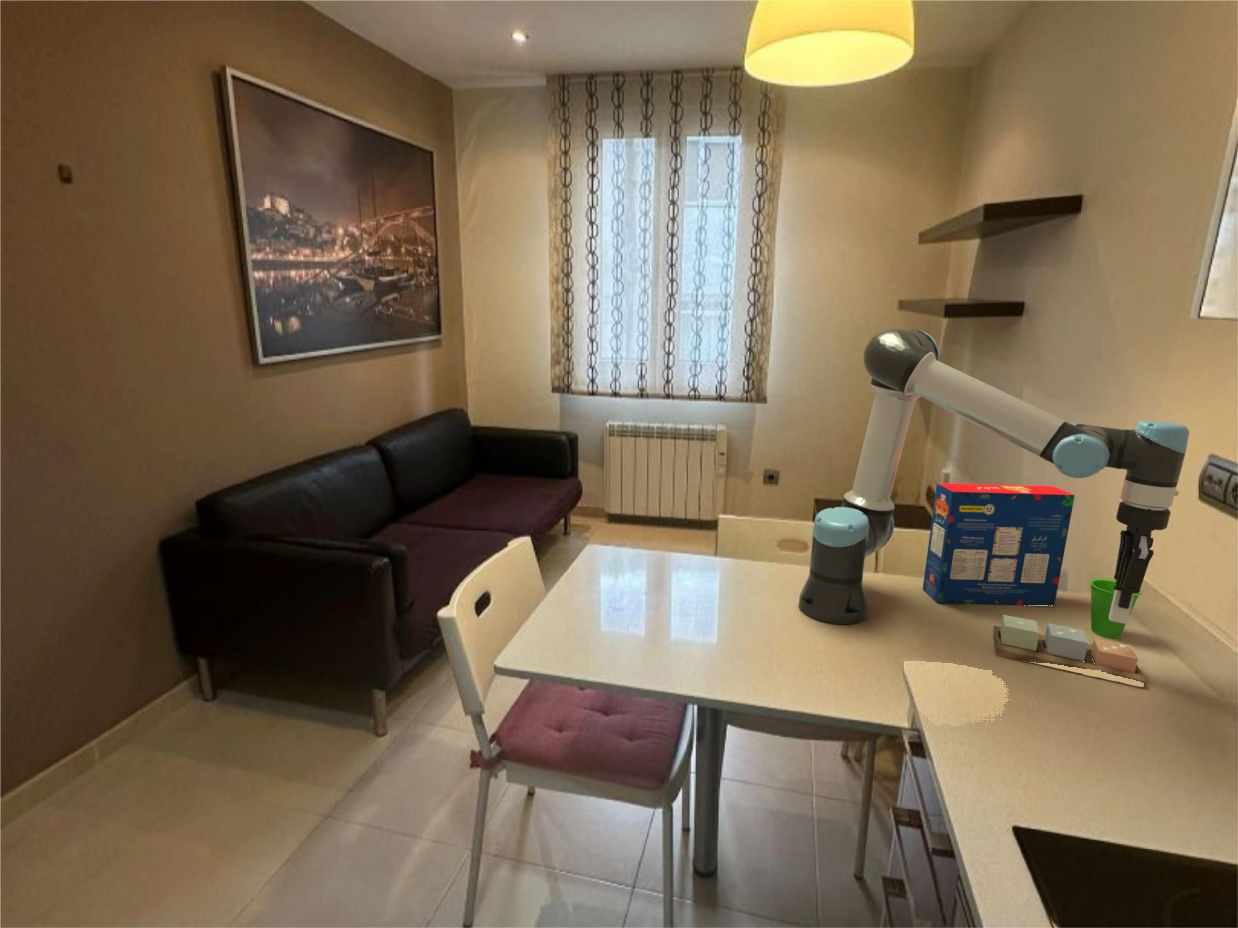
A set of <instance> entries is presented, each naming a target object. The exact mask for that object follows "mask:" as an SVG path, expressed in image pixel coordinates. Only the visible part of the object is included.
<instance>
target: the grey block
mask: <svg viewBox="0 0 1238 928" xmlns="http://www.w3.org/2000/svg"><path fill="white" fill-rule="evenodd" d="M1045 630H1046V631H1045V634H1044V635H1045V645H1046V647H1045V649H1046V651H1047V652H1046V653H1047V654H1048V655H1053V656H1058V657H1062V658H1067V659H1072V660H1076V661H1081V662H1083V661H1084V659H1085V654H1086V649H1087V644H1089V642H1088V640H1087V637H1086V634H1085V632H1084V630H1082V629H1078V628H1074V627H1068V626H1063V625H1058V624H1053V623H1048V622H1047V626H1046V629H1045Z"/></svg>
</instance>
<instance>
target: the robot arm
mask: <svg viewBox="0 0 1238 928" xmlns="http://www.w3.org/2000/svg"><path fill="white" fill-rule="evenodd" d="M940 357H941V354H940V348H939V345H938V343H937V341H936V340H935V339H934V338H933V336H931V335H930V334H929V333H927V332H925V331H923V330H921V329H920V330H919V329H916V328H889V329H884V330H882V331H880V332H878V333H876V334H875V335H874V336H873V337H872V338H871V339H870V340H869V341H868V342H867V344H866V346H865V348H864V351H863V365H864V368H865V370H866V371H867V373H868V375H869V376H870V377H871V382H870V387H871V388H872V389H873V391H874V393H875V394H874V399H873V403H872V407H871V411H870V415H869V419H868V424H867V426H866V427H867V428H866V431H865V436H864V439H863V443H862V444H863V445H862V448H861V452H860V457H859V461H858V464H857V469H856V473H855V477H854V481H853V486H852V489H851V490H849V491H847V492H846V493H844V495H843V498H842V504H841V506H836V507H834V508H832V507H828V508H825V509H822V510H820V511H819V512H818V513H816V516H815V518H814V523H813V526H812V541H811V551H810V564H809V565H810V566H809V574H808V577H807V579H806V581H805V584H804V585H803V587H802V589H801V592H800V593H799V597H798V608H799V609H800V610H801V612H802V613H803V614H805V615H807V616H808V617H811V618H813V619H816V621H821V622H825V623H830V624H835V625H836V624H837V625H852V624H858V623H862V622H863V621H864V620H866V619H867V615H868V603H867V597H866V593H865V589H864V585H863V577H864V568H865V561H866V558H868V557H869V556H871V555H872V554H874V553H875V552H877V551H879V550H880V549H882V548H883V547H885V546H886V545H887V543H888V542H889V541H890V540H891V538H892V536H893V534H894V532H895V531H894V530H895V520H894V516H893V514H894V510H895V504H894V502H893V501H892V499H891V494H892V491H893V487H894V483H895V480H896V476H897V473H898V468H899V465H900V462H901V458H902V453H903V449H904V445H905V441H906V438H907V434H908V429H909V427H910V422H911V418H912V414H913V410H914V406H915V404H916V401H917V400H918V399H919V398H921V397H922V398H923V399H924V400H927V401H928V402H929V401H930V402H932V403H934V404H935V405H936V406H939V407H940V408H943V409H945V410H947V411H949V412H950V413H953V414H955V415H957V416H959V417H961V418H963V419H964V420H967V421H969V422H971V423H972V424H975V425H976V426H978V427H980V428H982V429H984V430H986V431H988V432H991V433H992V434H994V435H996V436H998V437H1000V438H1002V439H1004V440H1006V441H1009V442H1010V443H1012V444H1014V445H1016V446H1019V447H1020V448H1022V449H1024V450H1026V451H1027V452H1030V453H1031V454H1033V455H1036V456H1038V457H1039V458H1041V459H1043V460H1045V461H1047V462H1049V463H1051V464H1053V465H1054V466H1055V468H1056V469H1057V470H1058V471H1059V472H1060V473H1061V474H1062V475H1065V476H1067V477H1070V478H1074V479H1084V478H1089V477H1092V476H1094V475H1096V474H1098V473H1099V472H1100V471H1103V470H1104V469H1105V468H1112V469H1115V470H1117V469H1118V470H1125V471H1126V474H1125V477H1124V479H1123V485H1122V489H1121V493H1120V499H1121V500H1122V501H1121V502H1119V504H1118V508H1117V512H1116V516H1115V517H1116V518H1115V520H1116V521H1117V522H1119V523H1120V524H1123V525H1125V526H1126V529H1125V530H1124V529H1122V530H1121V531H1120V532H1119V533H1120V542H1119V548H1118V554H1117V560H1116V566H1115V572H1114V576H1113V580H1115V581H1116V582H1115V584H1116V586H1114V590H1115V592H1114V596H1113V601H1112V605H1111V609H1110V613H1109V620H1110V621H1114V622H1119V623H1124V624H1126V625H1127V624H1128V623H1129V618H1130V616H1131V613H1130V611H1131V606H1132V602H1133V598H1134V594H1135V593H1136V594H1138V593H1139V592H1140V591H1141V588H1142V585H1143V581H1144V579H1145V575H1146V573H1147V570H1148V567H1149V565H1150V561H1151V559H1152V558H1153V556H1154V555H1155V553H1154V550H1153V549H1151V548H1152V547H1153V543H1154V538H1153V537H1152V532H1154V531H1164V530H1166V529H1167V528H1168V526H1169V525H1168V524H1169V521H1170V517H1171V510H1170V509H1169V508H1171V507H1172V505H1173V503H1174V497H1177V496H1179V494H1180V492H1179V490H1177V486H1178V483H1179V479H1180V475H1181V471H1182V468H1183V464H1184V461H1185V456H1186V452H1187V446H1188V442H1189V437H1190V430H1189V428H1188V427H1187V426H1186V425H1184V424H1181V423H1176V422H1169V421H1160V420H1147V419H1145V420H1140V421H1138V422H1137V425H1136V427H1135V428H1134V429H1121V428H1114V427H1105V426H1098V425H1092V424H1084V423H1073V422H1072V423H1070V422H1067V421H1065V420H1063V419H1062V418H1059V417H1057V416H1055V415H1053V414H1051V413H1048V412H1047V411H1044V410H1043V409H1040V408H1038V407H1036V406H1034V405H1032V404H1030V403H1027V402H1026V401H1023V400H1022V399H1019V398H1018V397H1015V396H1013V395H1011V394H1009V393H1007V392H1005V391H1002V390H1000V389H998V388H996V387H994V386H992V385H990V384H987V383H986V382H983V381H981V380H979V379H977V378H976V377H972V376H971V375H968V374H966V373H965V372H963V371H960V370H958V369H956V368H953V367H952V366H950V365H947V364H945V363H943V362H941V361H940V359H941V358H940ZM1131 612H1132V611H1131ZM1129 615H1130V616H1129Z"/></svg>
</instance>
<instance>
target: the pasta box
mask: <svg viewBox="0 0 1238 928" xmlns="http://www.w3.org/2000/svg"><path fill="white" fill-rule="evenodd" d="M933 501H934V502H933V511H932V515H931V517H932V518H931V524H930V529H929V530H930V531H929V538H928V548H927V553H926V560H925V570H924V574H923V575H924V577H923V583H922V591H923V590H924V591H923V592H924V593H925V592H926V593H925V594H926V595H927V594H928V595H927V596H929V597H930V598H931V599H932V600H933V601H934V602H935V603H936V604H941V605H942V604H943V605H944V604H947V605H949V604H950V605H979V606H983V605H984V606H1008V605H1010V606H1011V607H1012V606H1013V607H1029V606H1028V605H1048V606H1049V605H1050V606H1051V605H1053V606H1054V607H1055V606H1056V599H1057V594H1058V588H1059V583H1060V578H1061V571H1062V568H1063V567H1062V566H1063V561H1064V554H1065V551H1066V544H1067V539H1068V534H1069V528H1070V522H1071V517H1072V512H1073V507H1074V503H1075V502H1074V501H1075V494H1074V493H1071V492H1068V491H1065V490H1063V489H1061V488H1058V487H1056V486H1052V485H1051V486H1050V485H1020V484H1019V485H1015V484H981V483H979V484H978V483H942V482H941V483H940V482H938V483H936V486H935V495H934V500H933ZM1018 605H1019V606H1018ZM1024 605H1026V606H1024ZM1008 607H1009V606H1008Z"/></svg>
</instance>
